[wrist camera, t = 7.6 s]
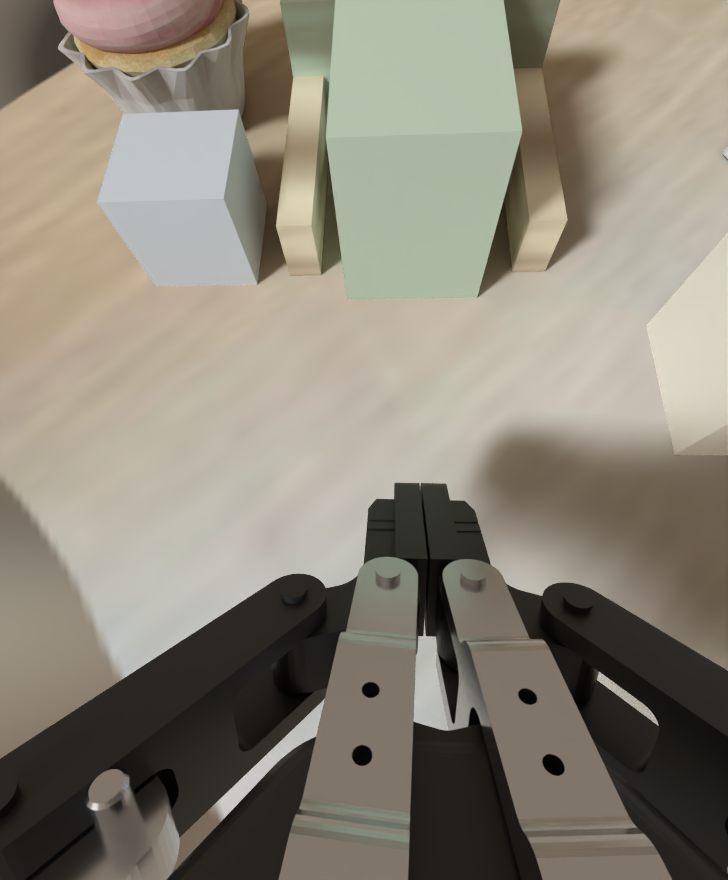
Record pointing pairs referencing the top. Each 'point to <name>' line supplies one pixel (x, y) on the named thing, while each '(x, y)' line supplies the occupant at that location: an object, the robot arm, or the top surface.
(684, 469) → the top surface
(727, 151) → the light bulb box
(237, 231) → the grey-blue block
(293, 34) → the birch bay
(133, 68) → the cupcake
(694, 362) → the cream block
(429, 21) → the sage block
